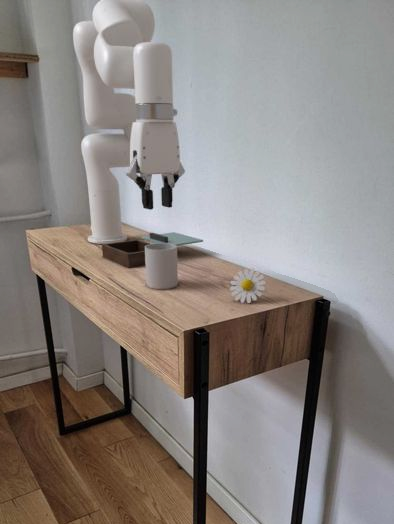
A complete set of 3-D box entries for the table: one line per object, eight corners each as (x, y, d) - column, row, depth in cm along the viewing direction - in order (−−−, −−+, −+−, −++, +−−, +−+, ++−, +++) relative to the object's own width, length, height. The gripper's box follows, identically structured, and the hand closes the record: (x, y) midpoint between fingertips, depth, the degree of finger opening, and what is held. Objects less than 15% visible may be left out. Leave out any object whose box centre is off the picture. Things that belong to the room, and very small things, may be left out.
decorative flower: (226, 253, 109) (262, 269, 96) (243, 270, 112) (280, 287, 100) (205, 280, 109) (238, 299, 97) (222, 296, 113) (256, 316, 100)
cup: (152, 291, 107) (150, 251, 103) (139, 279, 115) (137, 242, 112) (182, 287, 110) (181, 248, 106) (167, 276, 118) (166, 239, 114)
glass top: (141, 238, 142) (141, 231, 141) (174, 233, 148) (173, 227, 147) (169, 247, 131) (169, 239, 130) (203, 241, 137) (203, 234, 136)
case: (102, 257, 136) (101, 244, 134) (138, 251, 142) (137, 239, 141) (128, 268, 125) (127, 254, 124) (165, 261, 132) (165, 248, 130)
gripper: (177, 115, 105) (179, 202, 113) (108, 114, 96) (115, 209, 104) (198, 115, 100) (198, 206, 107) (127, 113, 91) (133, 213, 98)
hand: (157, 206), depth 105 cm, fingers open, 4 cm apart
